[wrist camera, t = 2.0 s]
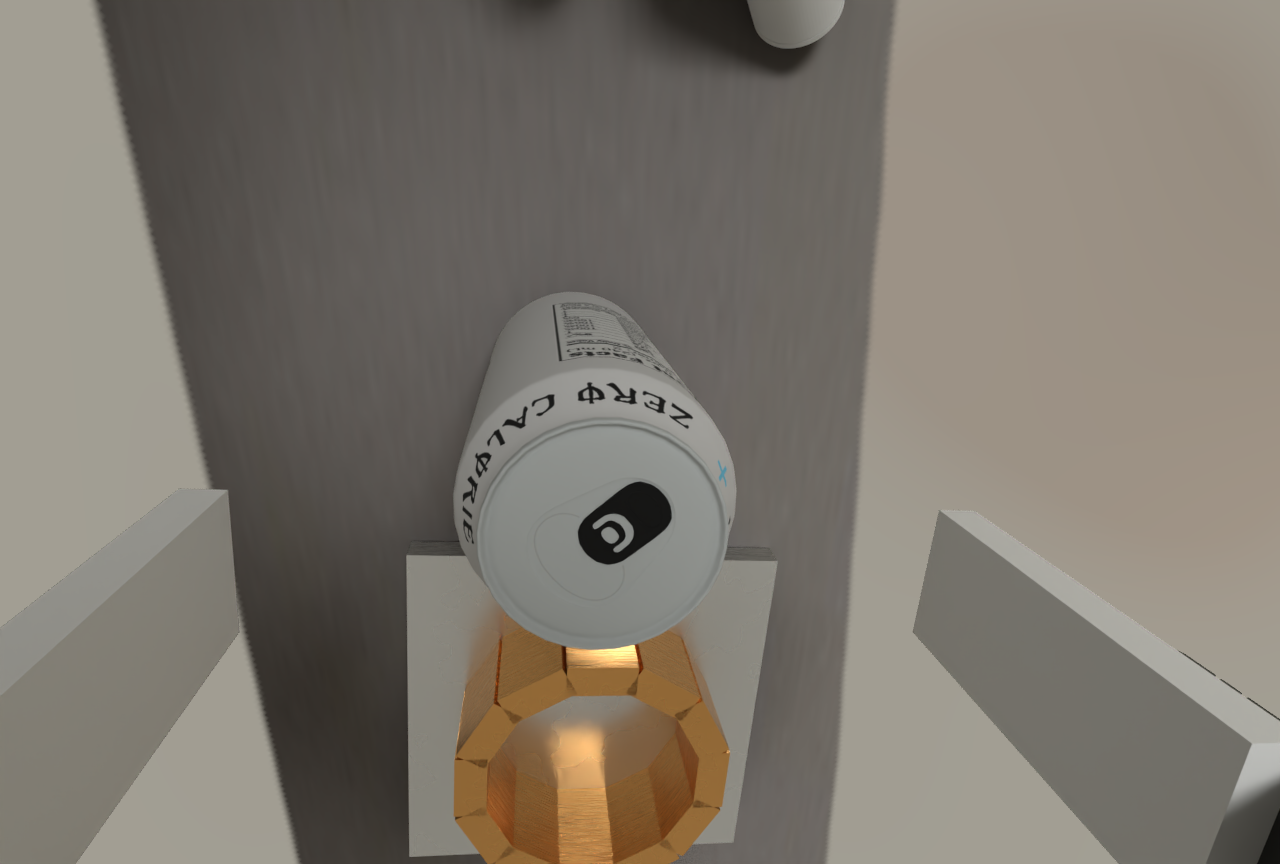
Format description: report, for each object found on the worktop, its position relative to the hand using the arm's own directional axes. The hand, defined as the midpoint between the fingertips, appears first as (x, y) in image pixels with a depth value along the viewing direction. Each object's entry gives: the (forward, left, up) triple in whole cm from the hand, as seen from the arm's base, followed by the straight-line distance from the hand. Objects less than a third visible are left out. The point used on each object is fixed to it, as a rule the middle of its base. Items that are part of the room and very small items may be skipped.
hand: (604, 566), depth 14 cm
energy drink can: (0, 0, -16) cm, 16 cm away
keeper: (+15, +2, -15) cm, 21 cm away
